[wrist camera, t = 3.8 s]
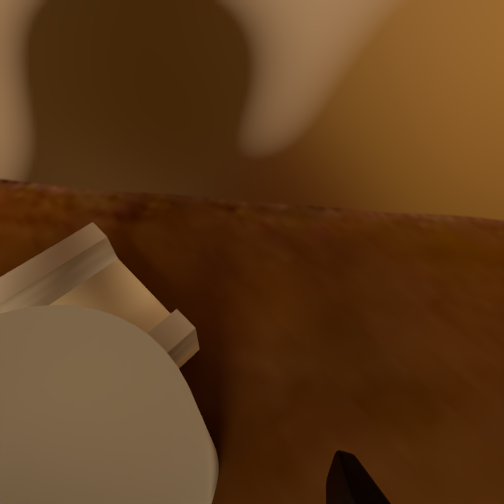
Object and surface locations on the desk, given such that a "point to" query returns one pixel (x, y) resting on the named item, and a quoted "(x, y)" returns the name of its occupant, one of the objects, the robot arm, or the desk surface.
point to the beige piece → (96, 414)
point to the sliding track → (96, 290)
